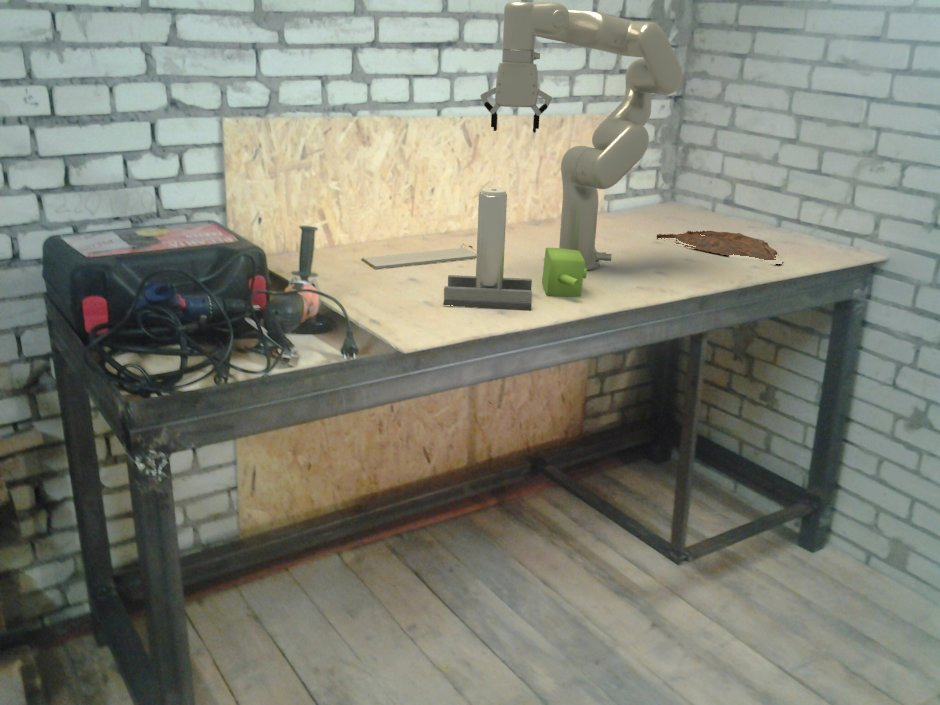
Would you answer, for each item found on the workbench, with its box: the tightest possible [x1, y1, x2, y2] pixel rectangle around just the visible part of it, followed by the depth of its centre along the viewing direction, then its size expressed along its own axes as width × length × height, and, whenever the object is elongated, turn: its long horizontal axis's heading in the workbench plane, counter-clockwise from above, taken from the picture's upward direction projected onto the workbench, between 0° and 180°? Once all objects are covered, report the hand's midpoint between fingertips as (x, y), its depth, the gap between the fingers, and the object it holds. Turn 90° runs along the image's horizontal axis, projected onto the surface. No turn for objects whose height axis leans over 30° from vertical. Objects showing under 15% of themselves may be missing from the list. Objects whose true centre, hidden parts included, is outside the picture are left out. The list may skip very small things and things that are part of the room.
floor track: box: [442, 274, 533, 311], centre depth 205 cm, size 20×13×4 cm, turn 86°
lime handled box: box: [541, 247, 588, 297], centre depth 212 cm, size 18×10×10 cm, turn 2°
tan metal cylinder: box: [475, 187, 508, 289], centre depth 201 cm, size 6×6×25 cm
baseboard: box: [360, 243, 477, 270], centre depth 239 cm, size 31×3×12 cm
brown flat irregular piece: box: [656, 230, 782, 266], centre depth 260 cm, size 40×28×5 cm
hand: (514, 131), depth 214 cm, fingers open, 9 cm apart
